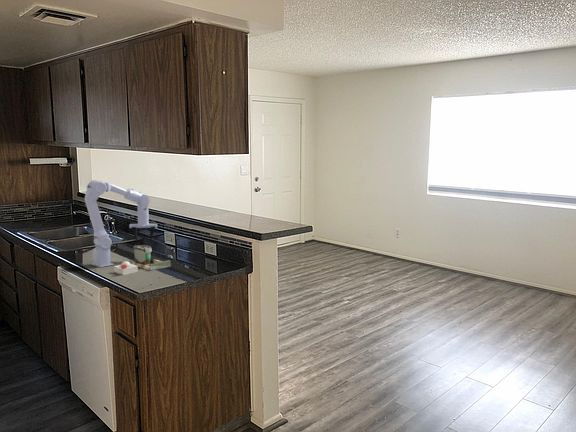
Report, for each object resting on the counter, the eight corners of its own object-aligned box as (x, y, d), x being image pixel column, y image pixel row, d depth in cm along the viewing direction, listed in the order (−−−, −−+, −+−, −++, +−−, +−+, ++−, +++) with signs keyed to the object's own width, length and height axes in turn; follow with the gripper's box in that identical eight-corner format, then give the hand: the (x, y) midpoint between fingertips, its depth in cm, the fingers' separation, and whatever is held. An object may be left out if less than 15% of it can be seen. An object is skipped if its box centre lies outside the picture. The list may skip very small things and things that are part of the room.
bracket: (135, 265, 251) (134, 260, 250) (154, 262, 260) (154, 256, 260) (151, 270, 242) (150, 264, 242) (170, 266, 251) (170, 260, 251)
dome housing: (114, 272, 238) (113, 262, 237) (128, 269, 244) (128, 259, 243) (123, 275, 233) (123, 265, 232) (137, 271, 239) (137, 262, 238)
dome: (118, 270, 238) (118, 261, 237) (127, 269, 242) (127, 259, 241) (124, 272, 235) (124, 263, 234) (133, 270, 239) (132, 261, 238)
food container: (157, 266, 251) (156, 247, 249) (146, 268, 246) (146, 249, 245) (144, 262, 259) (143, 244, 257) (133, 264, 254) (133, 245, 253)
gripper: (128, 217, 257) (129, 242, 259) (156, 217, 260) (156, 241, 262) (130, 215, 264) (130, 239, 266) (157, 215, 267) (157, 239, 269)
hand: (143, 240), depth 264 cm, fingers open, 7 cm apart
